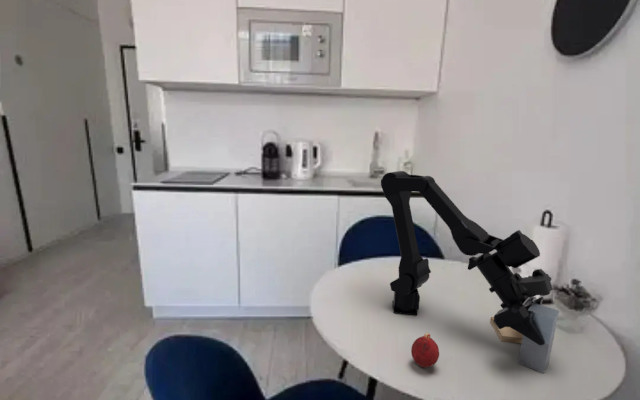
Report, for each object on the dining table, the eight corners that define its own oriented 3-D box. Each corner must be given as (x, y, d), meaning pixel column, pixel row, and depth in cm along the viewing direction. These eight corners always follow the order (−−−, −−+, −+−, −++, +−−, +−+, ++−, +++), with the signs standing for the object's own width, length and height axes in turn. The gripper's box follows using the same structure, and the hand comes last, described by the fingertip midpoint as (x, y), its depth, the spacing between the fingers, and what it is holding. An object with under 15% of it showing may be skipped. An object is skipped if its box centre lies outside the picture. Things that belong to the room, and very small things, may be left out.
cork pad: (501, 341, 91) (502, 335, 91) (490, 321, 100) (490, 316, 100) (540, 345, 90) (541, 339, 90) (525, 325, 99) (526, 320, 99)
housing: (518, 362, 83) (527, 310, 81) (524, 353, 87) (533, 302, 84) (543, 373, 80) (554, 319, 77) (548, 363, 84) (559, 310, 81)
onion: (432, 379, 77) (437, 345, 75) (406, 369, 80) (409, 336, 78) (440, 364, 82) (444, 332, 80) (414, 355, 85) (418, 323, 83)
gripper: (518, 272, 74) (573, 345, 69) (541, 250, 88) (588, 310, 83) (473, 295, 81) (520, 362, 76) (501, 271, 95) (543, 327, 90)
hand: (545, 339), depth 81 cm, fingers closed on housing, 5 cm apart
